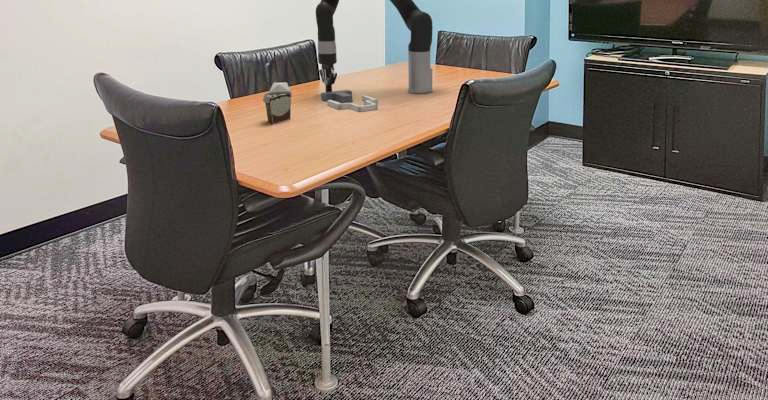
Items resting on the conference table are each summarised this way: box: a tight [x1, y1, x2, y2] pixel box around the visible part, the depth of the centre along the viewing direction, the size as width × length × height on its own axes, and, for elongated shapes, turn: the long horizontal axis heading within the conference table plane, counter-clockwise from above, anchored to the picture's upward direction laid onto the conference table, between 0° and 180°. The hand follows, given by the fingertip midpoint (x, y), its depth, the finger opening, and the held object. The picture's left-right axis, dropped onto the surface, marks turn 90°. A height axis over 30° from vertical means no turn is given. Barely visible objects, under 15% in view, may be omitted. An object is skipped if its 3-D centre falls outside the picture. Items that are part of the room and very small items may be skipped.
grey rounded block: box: [268, 82, 293, 96], centre depth 303 cm, size 8×9×10 cm
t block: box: [320, 89, 353, 104], centre depth 306 cm, size 12×12×3 cm
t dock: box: [327, 94, 379, 113], centre depth 294 cm, size 17×18×2 cm
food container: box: [262, 91, 293, 125], centre depth 272 cm, size 12×6×10 cm, turn 145°
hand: (328, 93), depth 315 cm, fingers closed
